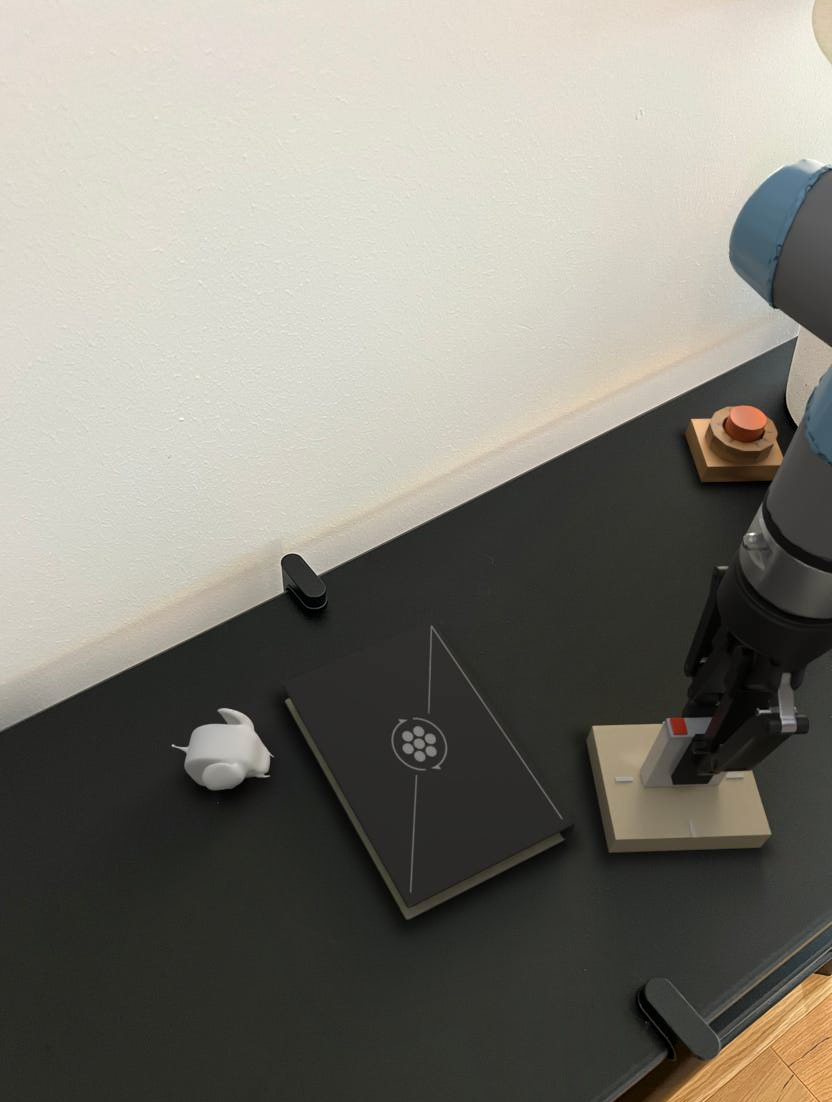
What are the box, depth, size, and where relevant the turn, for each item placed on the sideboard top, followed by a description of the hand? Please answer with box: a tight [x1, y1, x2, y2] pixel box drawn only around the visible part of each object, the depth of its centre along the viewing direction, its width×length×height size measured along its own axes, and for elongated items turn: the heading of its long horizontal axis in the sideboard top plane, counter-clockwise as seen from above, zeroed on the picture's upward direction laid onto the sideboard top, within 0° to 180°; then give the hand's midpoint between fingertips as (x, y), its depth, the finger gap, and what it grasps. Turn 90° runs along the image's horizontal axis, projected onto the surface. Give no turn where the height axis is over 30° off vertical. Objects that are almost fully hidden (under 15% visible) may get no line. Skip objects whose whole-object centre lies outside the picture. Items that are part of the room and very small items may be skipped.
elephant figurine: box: [171, 707, 275, 791], centre depth 78 cm, size 7×8×6 cm
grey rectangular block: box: [640, 717, 728, 788], centre depth 74 cm, size 6×2×8 cm, turn 92°
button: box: [725, 405, 767, 443], centre depth 98 cm, size 4×4×2 cm
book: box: [282, 620, 576, 922], centre depth 80 cm, size 22×15×3 cm
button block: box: [684, 406, 784, 483], centre depth 100 cm, size 8×7×4 cm
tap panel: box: [585, 721, 772, 854], centre depth 78 cm, size 12×10×3 cm
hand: (685, 766), depth 76 cm, fingers closed on grey rectangular block, 2 cm apart
